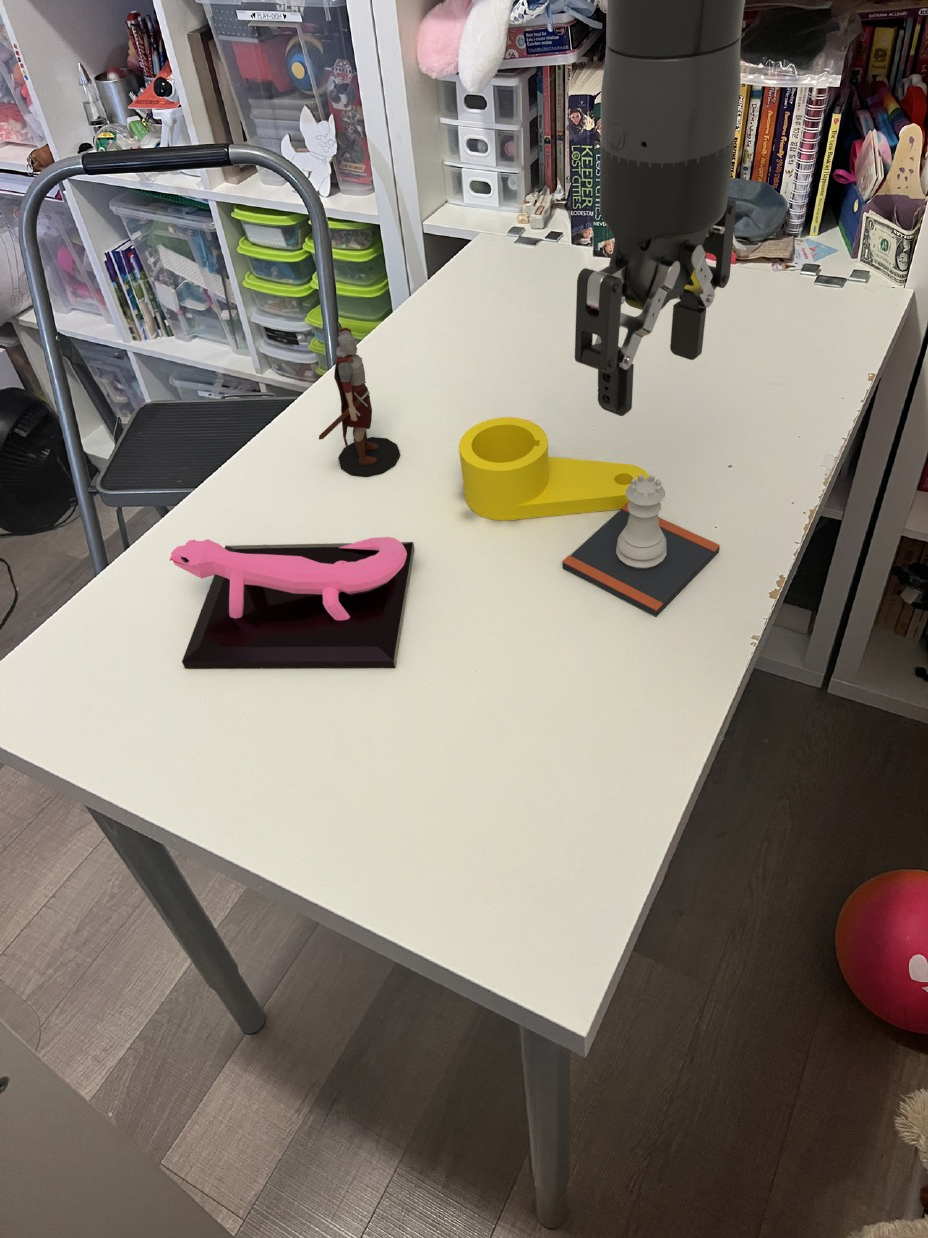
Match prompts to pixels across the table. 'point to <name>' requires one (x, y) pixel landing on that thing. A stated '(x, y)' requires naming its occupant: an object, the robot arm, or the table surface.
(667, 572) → the mat
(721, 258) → the robot arm
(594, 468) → the crank
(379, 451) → the figurine
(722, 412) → the table surface
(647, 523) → the rook chess piece
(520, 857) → the table surface
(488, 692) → the table surface
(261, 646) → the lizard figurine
